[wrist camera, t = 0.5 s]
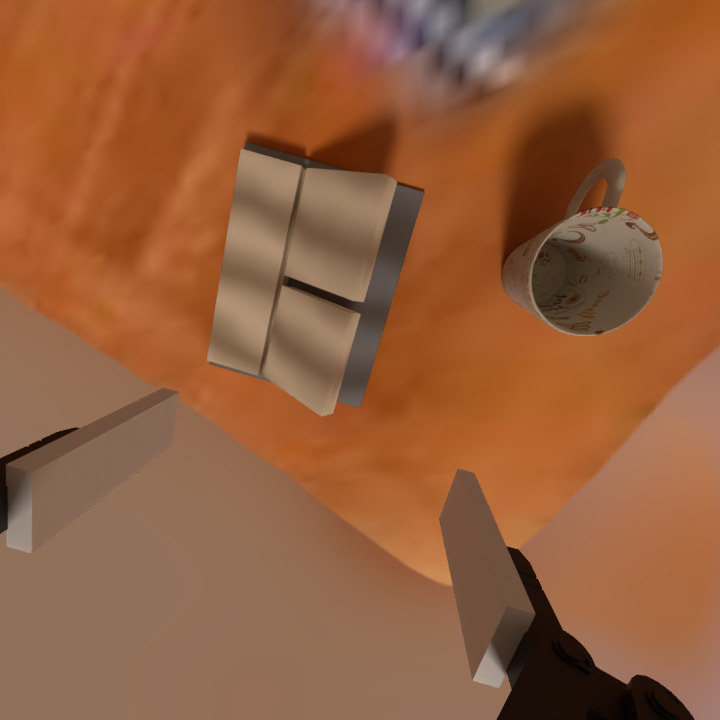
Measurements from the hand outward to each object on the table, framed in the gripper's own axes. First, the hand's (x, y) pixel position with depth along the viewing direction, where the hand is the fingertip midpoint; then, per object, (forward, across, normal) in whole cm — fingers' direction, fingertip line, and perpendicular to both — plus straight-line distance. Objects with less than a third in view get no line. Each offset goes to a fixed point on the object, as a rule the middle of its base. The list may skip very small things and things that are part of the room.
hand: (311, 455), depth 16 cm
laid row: (+21, -6, +6) cm, 22 cm away
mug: (+21, +14, +14) cm, 29 cm away
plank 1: (+18, -4, +11) cm, 21 cm away
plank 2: (+18, -4, 0) cm, 18 cm away
